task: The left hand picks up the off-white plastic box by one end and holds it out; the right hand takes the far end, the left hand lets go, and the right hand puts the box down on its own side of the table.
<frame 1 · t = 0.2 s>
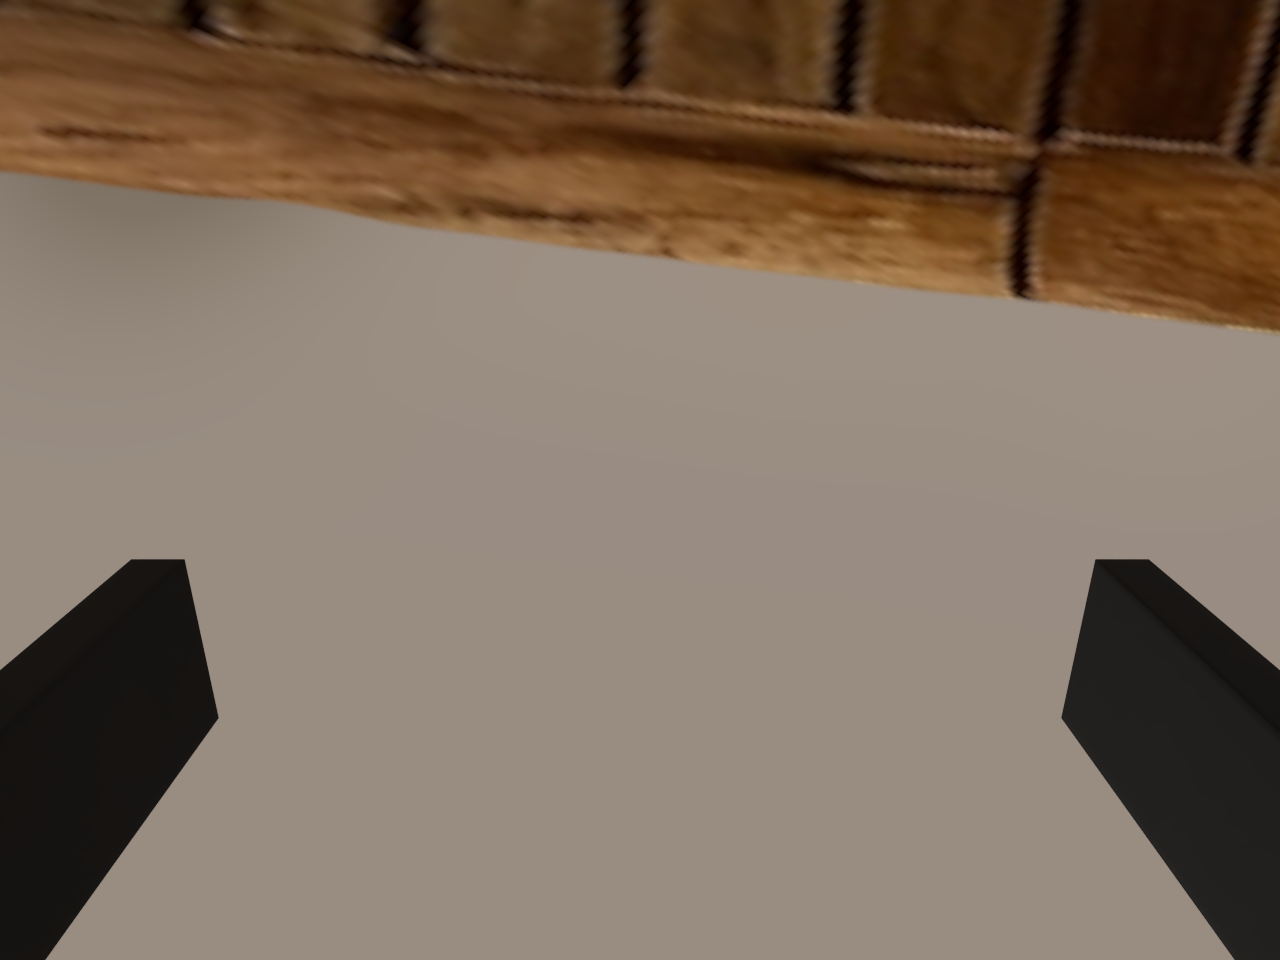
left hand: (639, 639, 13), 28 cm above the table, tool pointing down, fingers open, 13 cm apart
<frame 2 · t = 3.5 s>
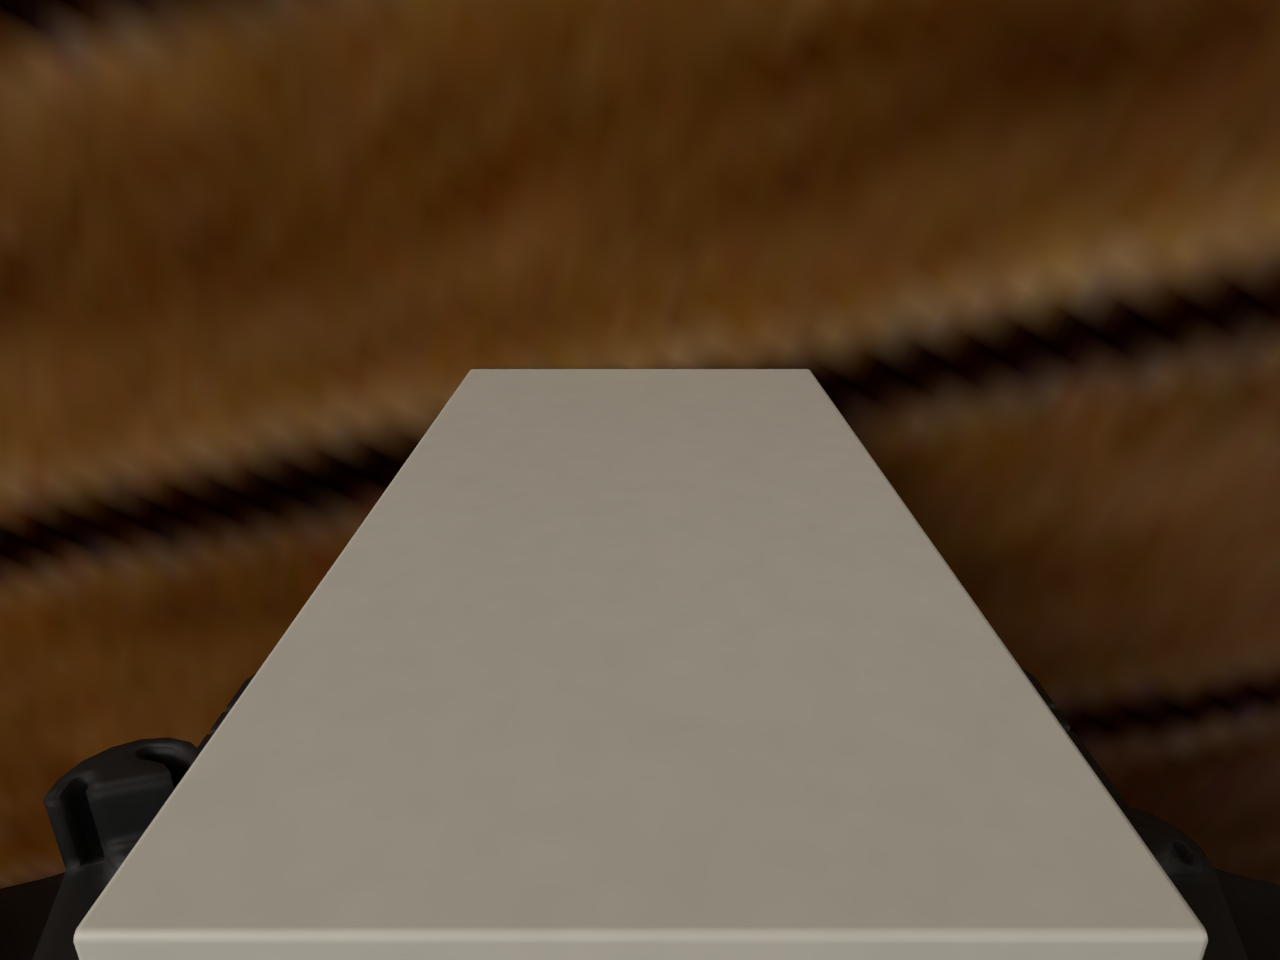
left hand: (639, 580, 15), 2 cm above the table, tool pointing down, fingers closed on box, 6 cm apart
box: (640, 846, 19), on the table, touching left hand
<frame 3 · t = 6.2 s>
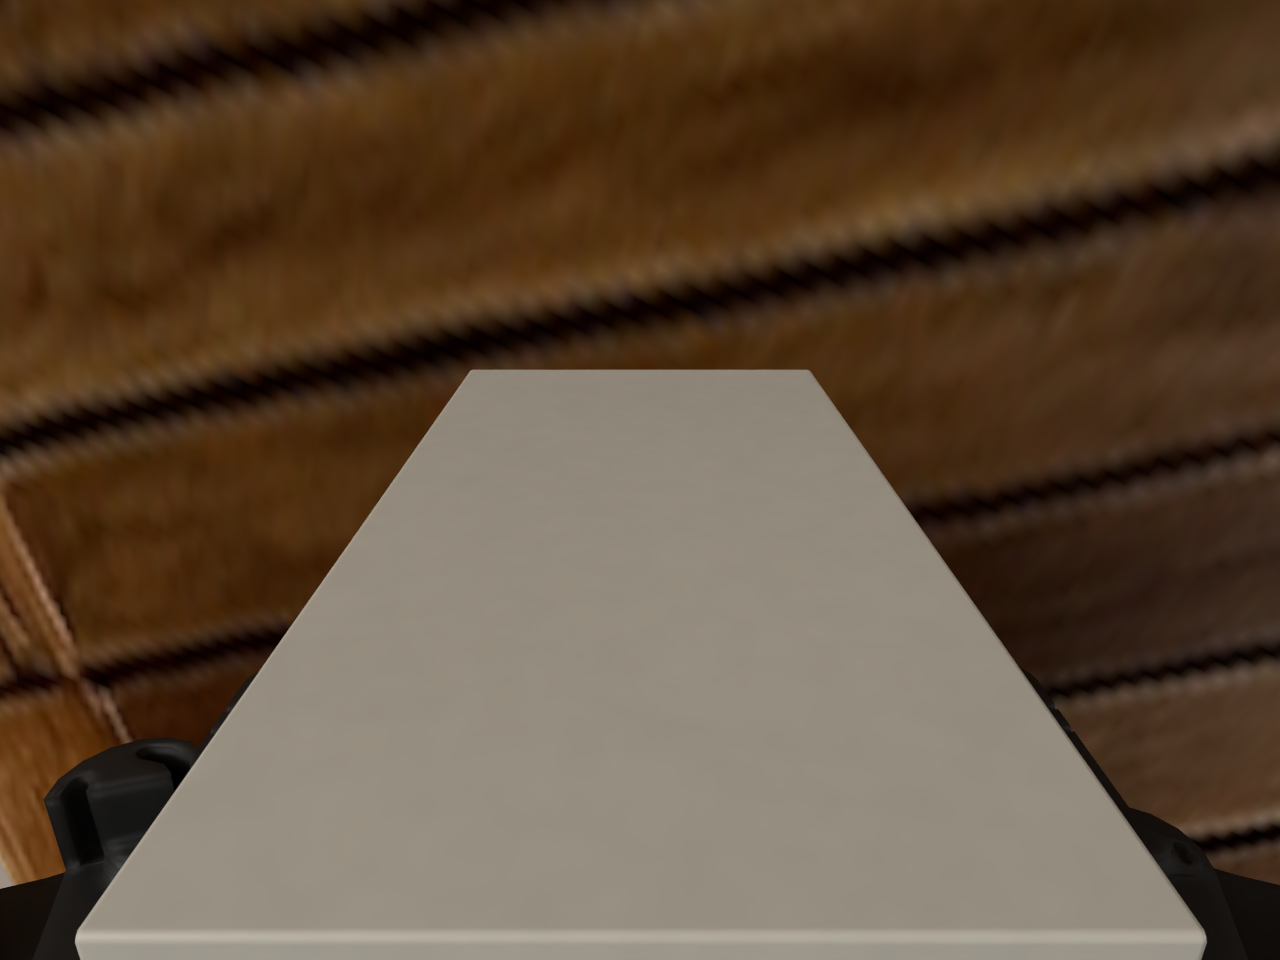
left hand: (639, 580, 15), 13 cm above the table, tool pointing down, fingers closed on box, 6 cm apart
box: (640, 846, 19), point 11 cm above the table, touching left hand
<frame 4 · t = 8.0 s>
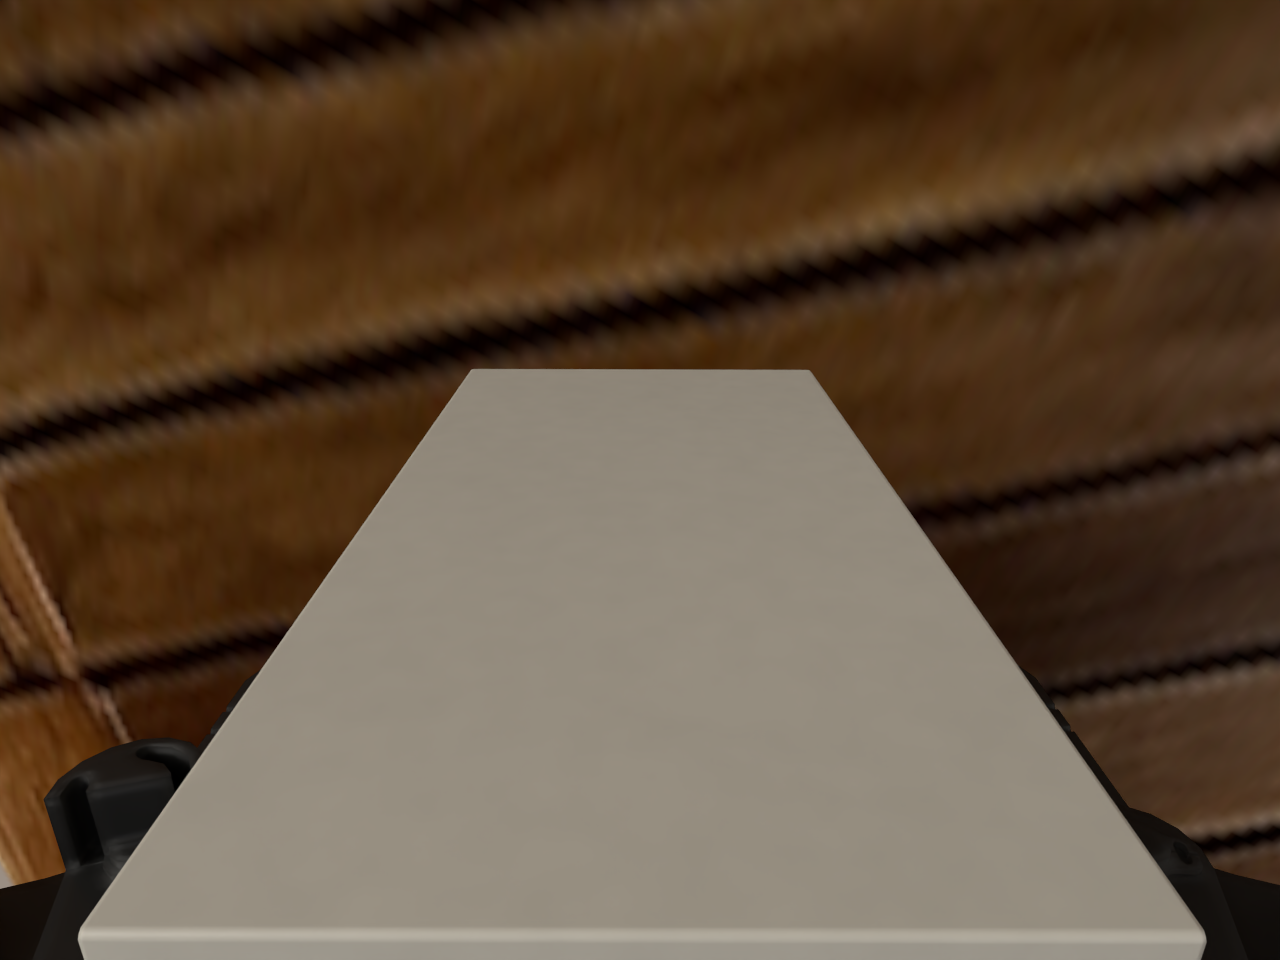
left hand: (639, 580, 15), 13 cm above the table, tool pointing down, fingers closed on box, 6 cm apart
box: (639, 845, 19), point 11 cm above the table, touching left hand, right hand
when the left hand's fingers open (13 cm above the table, at t = 9.0 s): box stays where it is, held by the right hand.
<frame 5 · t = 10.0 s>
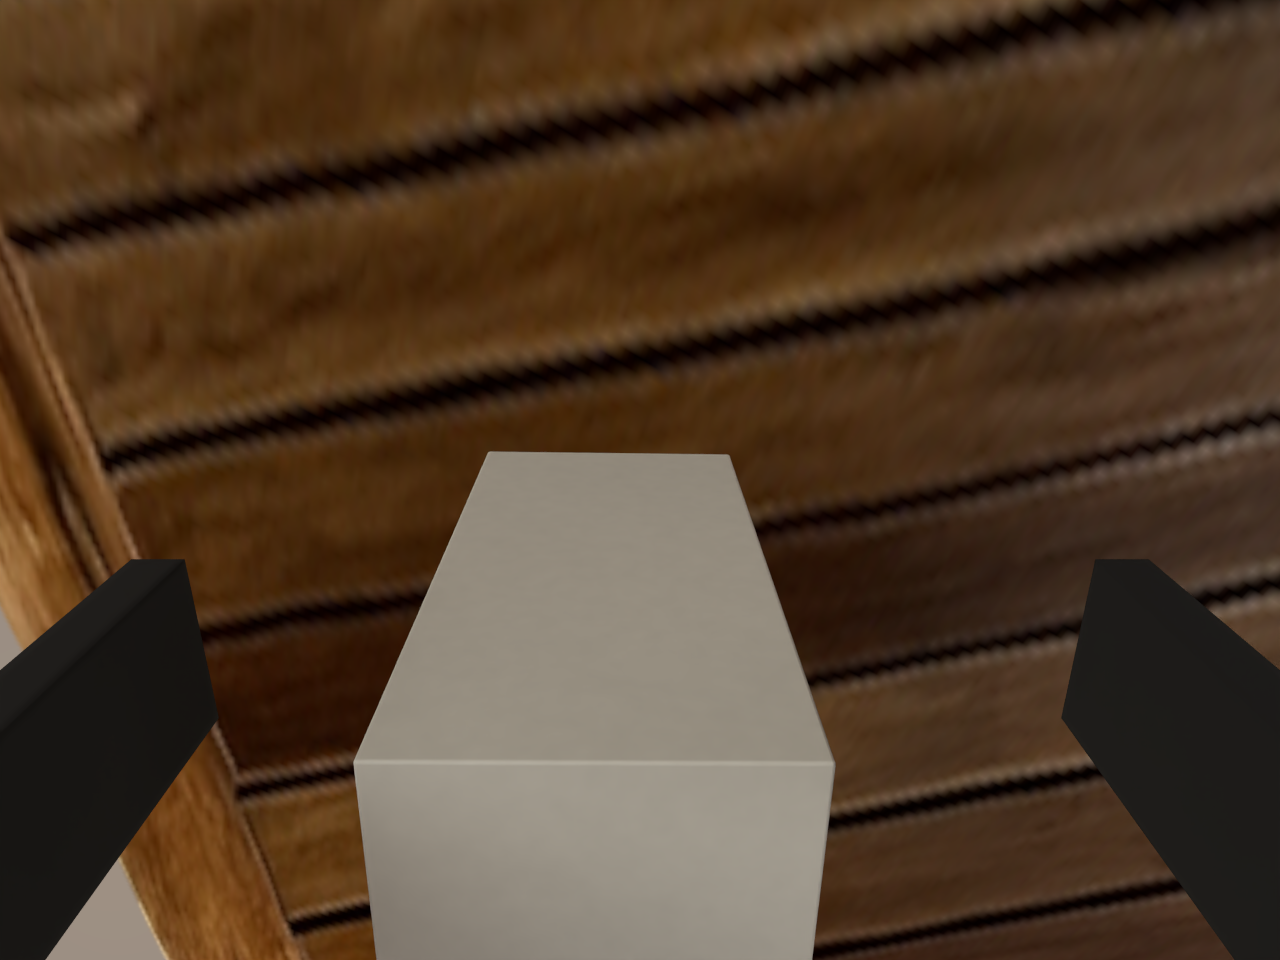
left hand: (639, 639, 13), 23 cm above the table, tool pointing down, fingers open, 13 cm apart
box: (606, 804, 25), point 14 cm above the table, touching right hand
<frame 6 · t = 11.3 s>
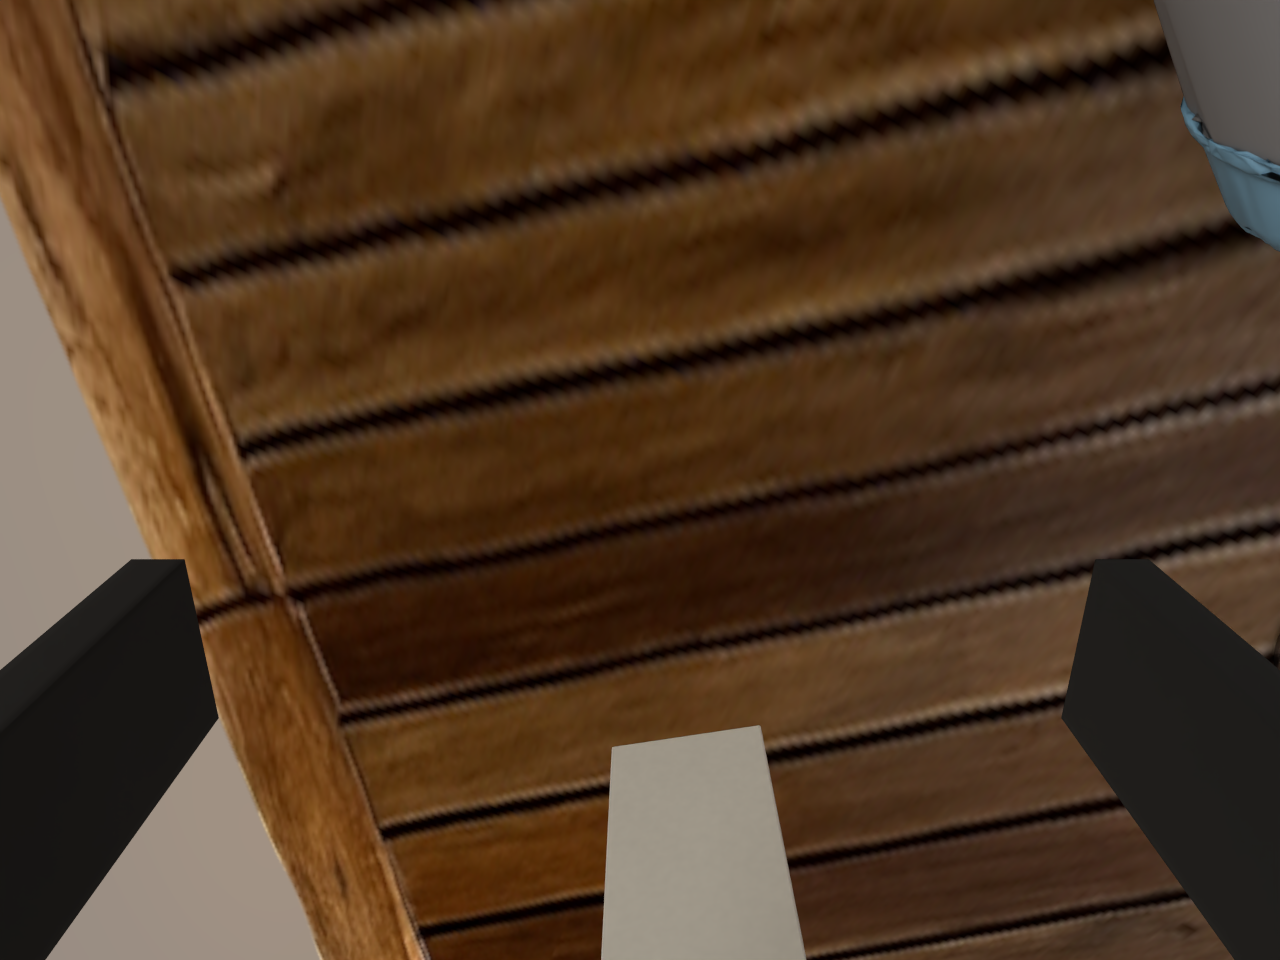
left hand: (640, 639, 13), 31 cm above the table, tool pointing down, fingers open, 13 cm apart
box: (725, 933, 39), point 14 cm above the table, touching right hand
when the right hand's fingers open (8 cm above the table, at t = 14.8 s): box stays where it is, on the table.
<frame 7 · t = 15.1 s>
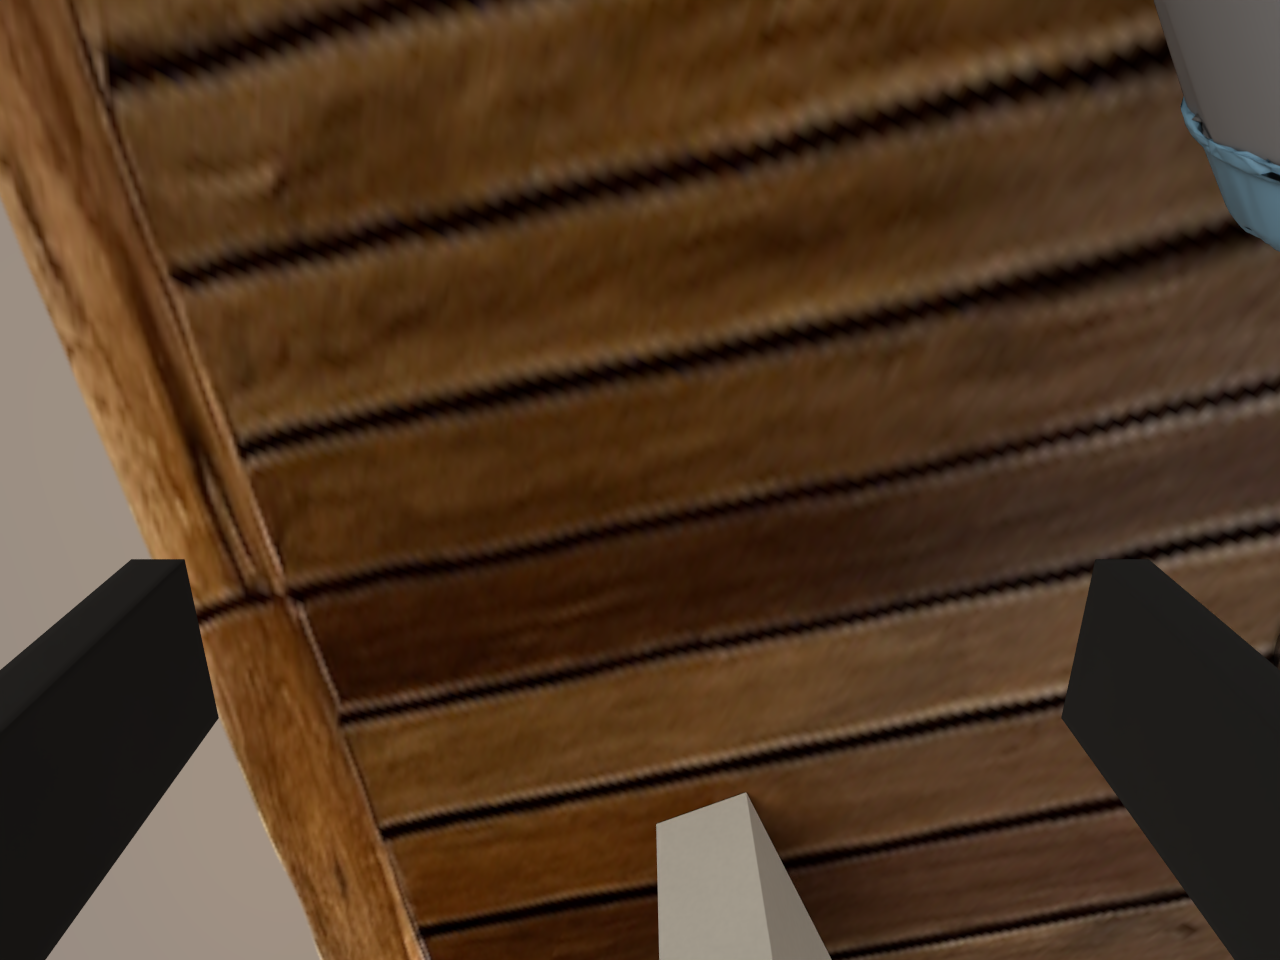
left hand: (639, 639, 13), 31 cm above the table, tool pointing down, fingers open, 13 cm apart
box: (765, 927, 57), on the table
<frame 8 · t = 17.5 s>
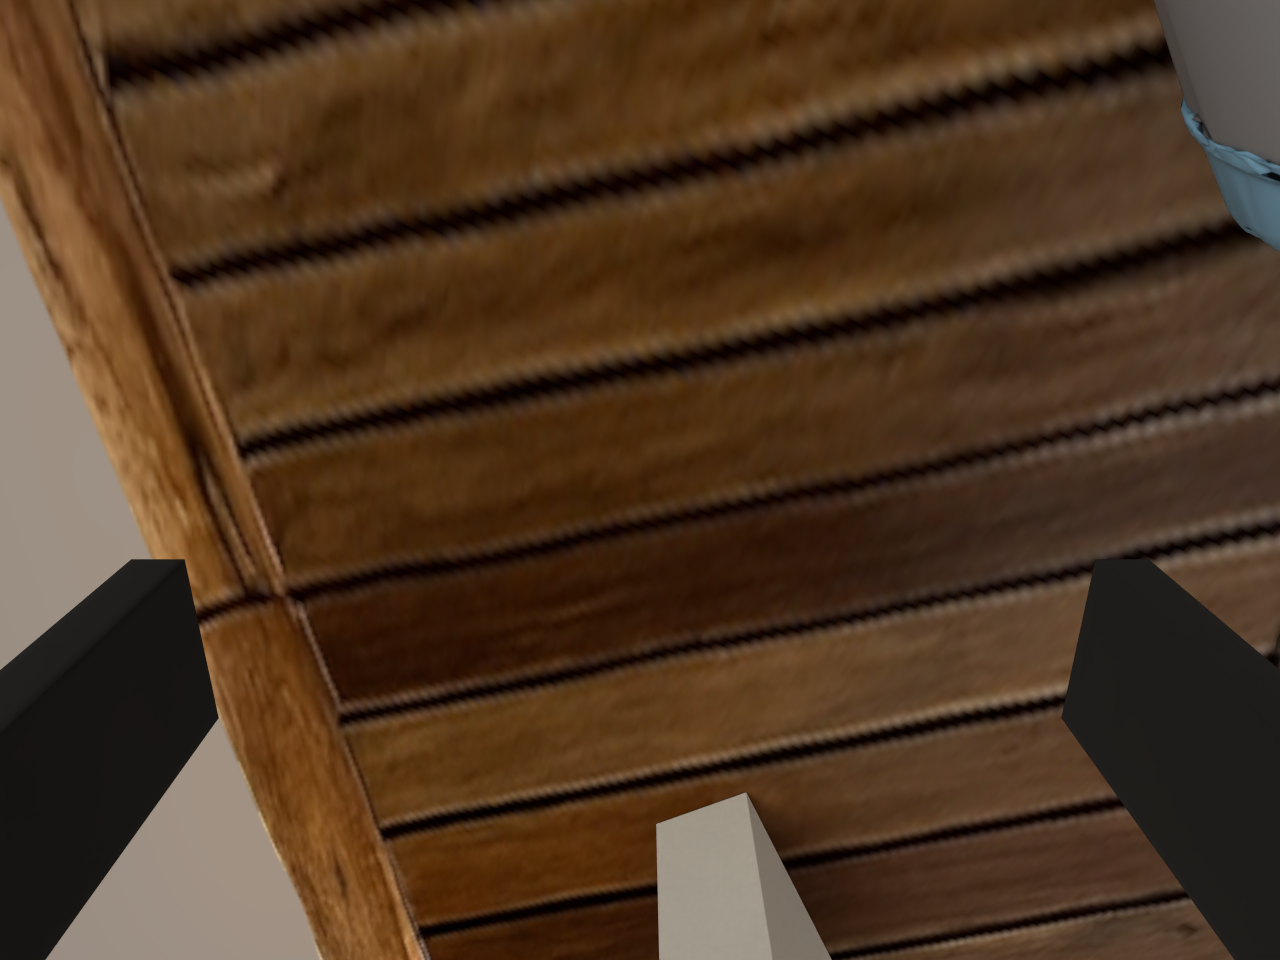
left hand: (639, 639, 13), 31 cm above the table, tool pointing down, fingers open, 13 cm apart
box: (765, 927, 57), on the table
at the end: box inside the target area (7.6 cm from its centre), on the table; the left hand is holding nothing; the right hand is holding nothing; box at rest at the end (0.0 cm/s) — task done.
